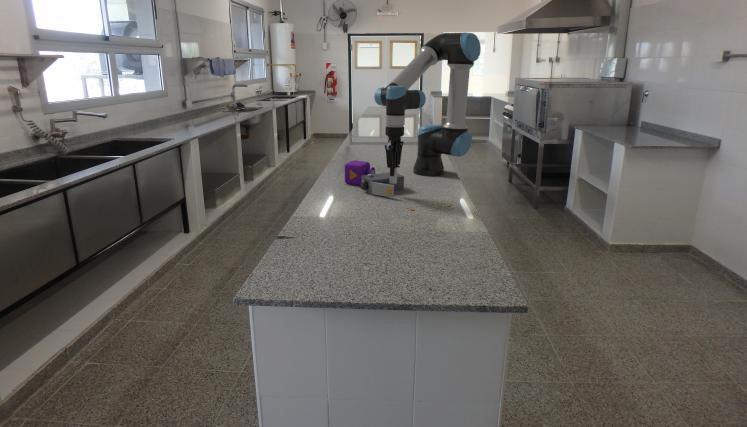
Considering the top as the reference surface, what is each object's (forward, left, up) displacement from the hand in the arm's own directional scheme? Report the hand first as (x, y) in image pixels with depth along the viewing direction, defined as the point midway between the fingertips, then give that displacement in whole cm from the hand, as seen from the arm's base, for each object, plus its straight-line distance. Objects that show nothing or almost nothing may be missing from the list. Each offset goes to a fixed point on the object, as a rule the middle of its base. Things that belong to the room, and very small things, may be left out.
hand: (393, 183), depth 202 cm
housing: (0, -9, -5) cm, 11 cm away
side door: (+5, 0, -5) cm, 7 cm away
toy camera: (+4, -23, -6) cm, 24 cm away
